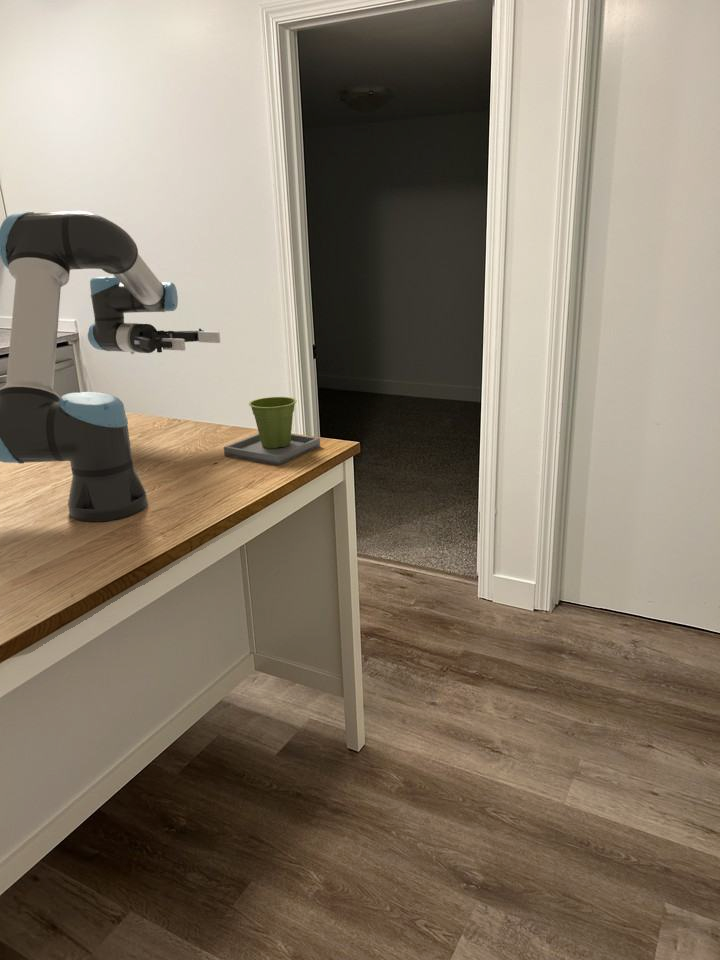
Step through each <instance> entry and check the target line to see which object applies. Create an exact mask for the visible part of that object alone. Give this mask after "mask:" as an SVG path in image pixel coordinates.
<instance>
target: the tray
mask: <svg viewBox="0 0 720 960" xmlns="http://www.w3.org/2000/svg"><path fill="white" fill-rule="evenodd" d="M320 447H321V438H320V437H315V436H308V435H302V434H295V433H291V442H290V445H288V446H286V447H278V448H275V449H272V448H266V447H263V445H262V444H261V439H260V435H259V433H257V434H254V435H250V436H249V437H246V438H243V439H241V440H239V441H236V442H233V443H231V444H228V445H225V446H224V447H223V452H224V456H225V455H226V456H225V457H230V458H235V457H236V459H242V460H248V461H253V462H258V463H263V464H269V465H274V466H281V465H283V464H285V463H287V461H288V462H290V461H292V460H294V459H296V458H299V457H301V456H303V455H305V454H307V453H309V452H311V451H314V450H316V449H318V448H320ZM304 453H305V454H304ZM302 454H303V455H302ZM300 455H301V456H300ZM295 457H296V458H295ZM293 458H294V459H293ZM291 459H292V460H291ZM289 460H290V461H289Z"/></svg>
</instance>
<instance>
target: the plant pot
mask: <svg viewBox="0 0 720 960" xmlns="http://www.w3.org/2000/svg"><path fill="white" fill-rule="evenodd" d="M296 403H297V399H296V398H293V397H287V396H269V397H261V398H258V399H254V400H251V401H249V403H248V406H249V407H250V408H251V411H252V414H253V416H254V419H255V422H256V423H255V424H256V427H257V433H258V434H259V435H260V439H261V444H262V445H263V447H266V448H272V449H275V448H278V447H286V446H288V445H290V442H291V434H292V427H293V418H294V417H293V416H294V411H295V404H296Z"/></svg>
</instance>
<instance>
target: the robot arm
mask: <svg viewBox="0 0 720 960" xmlns="http://www.w3.org/2000/svg"><path fill="white" fill-rule="evenodd" d="M0 259H1V261H2V263H3V265H4V266H5V267H6V268H7V269H8V272H9V274H10V276H12V278H14V279H15V285H14V295H13V296H14V297H13V307H12V314H11V315H12V318H11V326H10V327H11V328H10V340H9V351H8V359H7V360H8V362H7V373H6V382H5V383H6V384H5V385H3V386H2V387H0V463H5V464H6V463H7V464H8V463H9V464H10V463H11V464H12V463H13V464H19V465H21V464H22V465H23V464H25V463H26V464H27V463H50V462H52V463H53V462H69V463H70V464H69V465H70V467H71V468H70V469H71V474H72V478H71V483H70V490H69V496H68V501H67V502H68V503H67V506H68V512H69V513H68V514H69V515H70V517H71V518H73V519H74V520H78V521H82V522H107V521H114V520H118V519H123V518H127V517H130V516H132V515H134V514H137V513H139V512H140V511H142V510H143V509H144V508H146V506H147V505H148V498H147V493H146V490H145V487H144V485H143V484H142V482H141V480H140V478H139V476H138V474H137V472H136V470H135V468H134V463H133V456H132V449H131V441H130V433H129V427H128V424H129V421H128V417H127V416H126V409H125V405H124V403H123V402H122V400H121V399H120V398H118V397H116V396H115V395H112V394H108V393H104V392H97V391H96V392H95V391H81V392H69V393H66V394H63V395H62V396H60V395H59V394H58V393H57V392H56V391H55V390H54V383H55V369H56V358H57V357H56V356H57V343H58V342H57V340H58V329H59V317H60V304H61V303H60V302H61V301H60V300H61V288H62V287H64V286H66V285H67V284H68V282H69V280H70V273H71V270H72V271H73V270H84V269H85V270H88V269H90V270H92V269H93V270H94V269H96V270H102V271H103V272H105V273H107V274H110V275H112V276H95V277H92V278H91V279H90V281H89V285H90V287H89V288H90V298H91V303H92V309H93V316H94V323H92V324H91V325H90V326H89V328H88V332H87V340H88V342H89V343H90V345H91V346H92V347H93V348H94V349H96V350H100V351H106V352H126V353H127V352H128V353H129V352H130V355H134V354H135V353H139V354H151V353H153V352H154V351H156V352H157V353H163V350H164V351H165V350H168V351H182V352H185V351H186V343H190V342H199V343H206V344H207V343H209V344H211V343H212V344H220V343H221V336H220V335H221V334H220V331H204V330H203V329H202V328H198V330H157V329H156V327H155V326H154V325H152V324H150V323H137V322H136V323H135V322H125V316H124V315H125V314H128V313H130V314H131V313H166V312H174V311H176V310H177V308H178V304H179V303H178V301H179V300H178V298H179V297H178V290H177V286H176V285H175V284H174V283H173V282H166V281H162V282H161V280H159V279H158V277H157V276H156V275H155V274H154V272H153V271H152V270H151V269H150V266H149V265H148V264H147V263H146V262H145V261H144V259H143V258H142V256H140V254H139V249H138V246H137V244H136V242H135V240H134V239H133V238H132V236H131V235H130V234H129V233H128V232H127V231H126V230H125V229H123V228H122V227H121V226H119V225H118V224H116V223H115V222H113V221H111V220H109V219H107V218H106V217H103V216H101V215H98V214H96V213H92V212H89V211H84V210H83V211H82V210H73V211H53V212H49V211H48V212H34V211H24V212H20V213H13V214H10V215H8V216H7V217H5V219H4V220H3V221H2V223H1V225H0Z"/></svg>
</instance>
